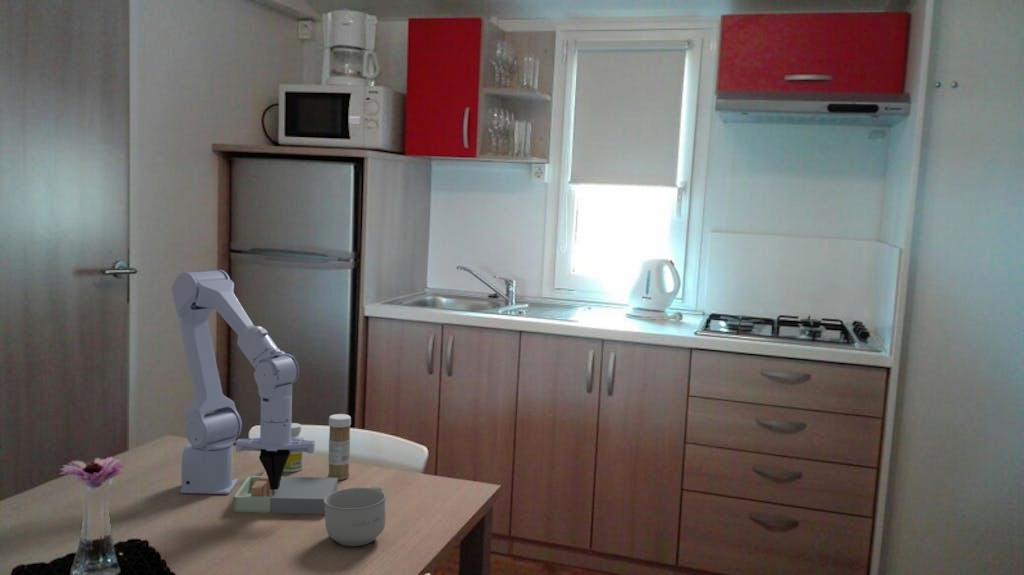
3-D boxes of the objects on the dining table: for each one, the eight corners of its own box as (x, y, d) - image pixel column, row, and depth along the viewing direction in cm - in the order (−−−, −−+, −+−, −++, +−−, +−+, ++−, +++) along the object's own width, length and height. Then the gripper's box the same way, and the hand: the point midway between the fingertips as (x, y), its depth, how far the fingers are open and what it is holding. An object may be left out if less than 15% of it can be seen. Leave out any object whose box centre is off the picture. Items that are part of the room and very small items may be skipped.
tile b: (261, 508, 162) (251, 508, 162) (266, 500, 166) (256, 500, 166) (262, 488, 162) (251, 487, 162) (266, 480, 166) (256, 480, 166)
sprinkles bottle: (343, 472, 186) (344, 412, 184) (353, 478, 182) (354, 417, 181) (323, 476, 183) (325, 415, 181) (333, 482, 179) (335, 420, 178)
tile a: (269, 498, 168) (259, 498, 167) (274, 491, 172) (264, 490, 171) (270, 478, 167) (259, 478, 167) (274, 471, 171) (264, 471, 171)
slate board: (269, 513, 161) (270, 497, 161) (282, 490, 173) (282, 476, 173) (328, 514, 162) (329, 499, 162) (337, 492, 174) (337, 477, 173)
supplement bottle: (284, 463, 190) (285, 421, 189) (307, 465, 189) (308, 423, 188) (274, 471, 185) (274, 427, 183) (297, 473, 184) (298, 429, 183)
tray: (233, 512, 161) (233, 497, 160) (248, 490, 173) (248, 475, 172) (269, 513, 161) (270, 497, 161) (282, 490, 173) (282, 476, 173)
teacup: (356, 557, 144) (357, 512, 143) (309, 541, 149) (310, 497, 149) (408, 532, 156) (409, 489, 155) (363, 517, 161) (364, 476, 160)
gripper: (231, 423, 158) (231, 494, 160) (311, 425, 159) (309, 495, 161) (241, 413, 165) (240, 481, 166) (317, 415, 166) (315, 483, 168)
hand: (275, 487), depth 164 cm, fingers closed
